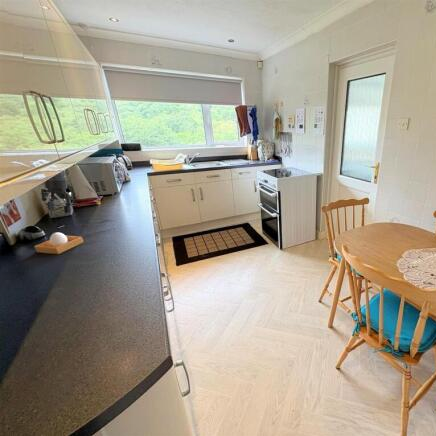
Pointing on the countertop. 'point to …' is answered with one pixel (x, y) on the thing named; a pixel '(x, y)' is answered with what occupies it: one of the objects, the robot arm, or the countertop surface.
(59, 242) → the egg
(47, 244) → the bin
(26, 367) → the countertop surface
